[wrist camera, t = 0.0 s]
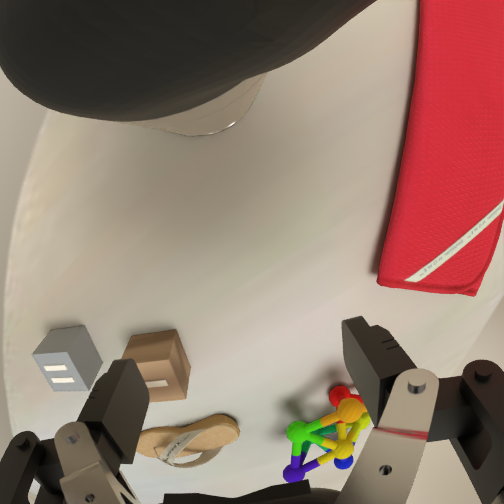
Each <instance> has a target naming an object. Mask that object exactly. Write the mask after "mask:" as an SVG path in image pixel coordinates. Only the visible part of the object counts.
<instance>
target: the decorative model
mask: <svg viewBox="0 0 504 504" xmlns="http://www.w3.org/2000/svg"><path fill="white" fill-rule="evenodd" d="M329 401H330V403H331V404H332V405H333V406H335V407H336V410H337V411H336V412H334V413H332V414H329V415H327V416H325V417H322V418H320V419H318V420H316V421H313V422H311V423H308V424H306V423H305V422H303V421H295V422H293V423H291V424H290V425H289V426H288V428H287V431H286V432H287V437H288V439H289V440H290V441H292V442H293V445H292V455H291V464H290V465H288V466H287V467H286V468H285V469H284V470H283V478H284V479H285V480H286V481H287V482H289V483H291V482H297V481H302V480H303V478H304V476H305V473H306V472H308V471H310V470H312V469H314V468H316V467H318V466H320V465H322V464H324V463H326V462H328V461H330V460H331V459H333V458H335V459H334V464H335V466H336V467H337V468H339V469H347V468H349V467H350V466H351V465H352V463H353V456H352V453H353V451H354V445H355V443H356V440H357V438H358V435H359V433H360V431H361V430H362V429H365V428H366V427H367V426H368V425H369V423H370V419H371V418H370V416H369V413H368V411H367V409H366V407H365V405H364V403H363V401H362V399H361V397H360V395H356V394H351V393H350V391H349V389H348V388H347V387H345V386H337V387H335V388H333V389H332V391H331V392H330V394H329ZM334 422H337V424H334V425H331V426H327V425H330V424H332V423H334ZM324 426H327V427H324ZM322 427H323V428H322ZM350 427H352V428H351V429H350V431H349V433H348V434H347V432H346V429H347V428H350ZM336 431H338V440H337V441H334V440H331V439H329V438H327V437H324V436H322V435H326V434H329V433H333V432H336ZM302 442H303V443H302ZM313 443H315V444H317V445H318V446H319V447H320V448H322V449H323V450H324V451H326V452H327V453H326V454H324V455H322V456H320V457H318V458H316V459H314V460H312V461H310V462H308V463H306V464H304V465H303V462H304V460H305V457H306V455H307V452H308V450H309V447H310V445H311V444H313Z"/></svg>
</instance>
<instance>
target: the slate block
mask: <svg viewBox="0 0 504 504" xmlns="http://www.w3.org/2000/svg"><path fill="white" fill-rule="evenodd" d="M32 356H33V358H34V359H35V361H36V363H37V365H38V366H39V368H40V370H41V371H42V373H43V375H44V376H45V378H46V380H47V381H48V383H49V385H50V386H51V388H52V389H53V391H89V390H90V388H91V386H92V384H93V382H94V380H95V378H96V376H97V374H98V372H99V370H100V368H101V365H102V363H103V362H102V360H101V358H100V356H99V354H98V352H97V350H96V348H95V346H94V344H93V342H92V340H91V337H90V335H89V333H88V331H87V329H86V327H85V325H84V326H77V327H70V328H62V329H55V330H51V331H50V332H49V333H48V334H47V336H46V337H45V338H44V339H43V341H42V342H41V343H40V345H39V346H38V347H37V348H36V350H35V351H34V352H33V354H32Z"/></svg>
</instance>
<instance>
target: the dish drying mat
mask: <svg viewBox="0 0 504 504" xmlns="http://www.w3.org/2000/svg"><path fill="white" fill-rule="evenodd" d="M503 219H504V0H420V23H419V40H418V51H417V62H416V73H415V83H414V89H413V95H412V101H411V107H410V113H409V120H408V126H407V133H406V140H405V146H404V151H403V155H402V161H401V167H400V173H399V178H398V183H397V189H396V194H395V199H394V204H393V208H392V213H391V218H390V222H389V227H388V231H387V235H386V239H385V243H384V247H383V251H382V256H381V260H380V265H379V271H378V277H377V283H378V284H379V285H380V286H385V287H389V288H401V289H409V290H416V291H423V292H430V293H440V294H456V293H457V294H463V295H468V296H472V297H474V296H475V295H476V294H477V291H478V289H479V287H480V285H481V282H482V279H483V277H484V274H485V272H486V270H487V269H488V266H489V264H490V262H491V260H492V257H493V254H494V251H495V248H496V245H497V242H498V239H499V236H500V232H501V228H502V223H503Z"/></svg>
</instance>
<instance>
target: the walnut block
mask: <svg viewBox="0 0 504 504" xmlns="http://www.w3.org/2000/svg"><path fill="white" fill-rule="evenodd" d="M129 358H132V359H133V360H134V361H135V362H136V364H137V367H138V369H139V371H140V373H141V375H142V377H143V379H144V381H145V383H146V385H147V388H148V390H149V396H150V401H149V402H161V401H172V400H182V399H186V396H187V389H188V383H189V376H190V369H191V367H190V364H189V362H188V359H187V356H186V354H185V351H184V349H183V346H182V343H181V341H180V338H179V335H178V332H177V330H176V329H175V330H168V331H162V332H155V333H148V334H142V335H134V336H131V338H130V340H129V342H128V345H127V347H126V349H125V351H124V354H123V356H122V358H121V359H129Z"/></svg>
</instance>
